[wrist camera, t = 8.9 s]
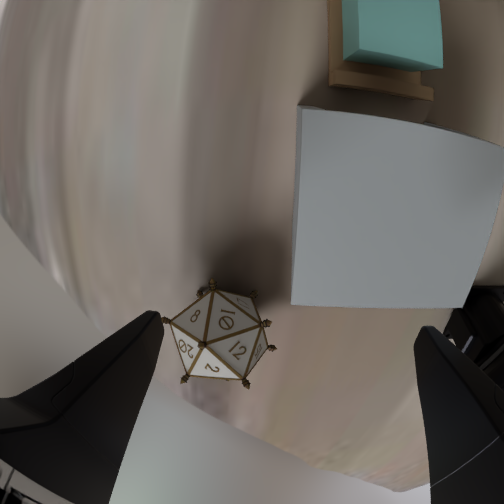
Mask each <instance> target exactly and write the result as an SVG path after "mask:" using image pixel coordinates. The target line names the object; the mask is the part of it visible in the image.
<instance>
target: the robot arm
mask: <svg viewBox="0 0 504 504" xmlns="http://www.w3.org/2000/svg"><path fill="white" fill-rule="evenodd" d="M503 301H504V286H472V287H471V289H470V291H469V294H468V296H467V298H466V301H465V303H464V305H463V307H462V308H455V309H454V311H453V314H452V316H451V318H450V320H449V322H448V324H447V326H446V328H445V330H444V332H443V334H442V333H441V332H440V331H438V330H437V329H436V328H435V327H434V326H423V327H422V328H421V330H420V332H419V334H418V336H417V338H416V340H415V343H414V356H415V365H416V375H417V385H418V391H419V396H420V402H421V408H422V414H423V420H424V427H425V434H426V442H427V451H428V461H429V473H430V487H431V488H430V491H431V504H504V303H503ZM163 336H164V327H163V323H162V319H161V316H160V313H159V312H157V311H150V310H148V311H146V312H144V313H143V314H141V315H140V316H139V317H137V318H136V319H134V320H133V321H131V322H130V323H128V324H127V325H125V326H124V327H122V328H121V329H120V330H118V331H117V332H115V333H114V334H112V335H111V336H109V337H108V338H106V339H105V340H104V341H102V342H101V343H99V344H98V345H97V346H95V347H93V348H92V349H91V350H89V351H88V352H86V353H85V354H83V355H82V356H81V357H79V358H78V359H76V360H75V361H74V362H72V363H70V364H69V365H67V366H66V367H65V368H63V369H62V370H60V371H59V372H57V373H56V374H54V375H52V376H51V377H49V378H47V379H45V380H44V381H42V382H40V383H39V384H37V385H35V386H33V387H32V388H30V389H28V390H26V391H24V392H23V393H21V394H19V395H17V396H14V397H9V398H0V504H109V501H110V497H111V494H112V491H113V488H114V484H115V482H116V478H117V475H118V472H119V469H120V466H121V462H122V460H123V457H124V454H125V451H126V448H127V445H128V442H129V439H130V436H131V433H132V431H133V428H134V425H135V422H136V419H137V417H138V414H139V411H140V408H141V406H142V403H143V400H144V397H145V395H146V392H147V390H148V387H149V384H150V382H151V379H152V376H153V373H154V370H155V367H156V363H157V359H158V355H159V351H160V348H161V344H162V340H163ZM449 339H453V340H454V342H455V344H456V346H455V345H454V344H453V343H452V342H451V341H450V340H449Z"/></svg>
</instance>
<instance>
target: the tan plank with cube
mask: <svg viewBox="0 0 504 504" xmlns="http://www.w3.org/2000/svg"><path fill="white" fill-rule="evenodd" d="M327 7H328V47H329V73H328V86H334V87H343V88H352V89H359V90H366V91H373V92H379V93H385V94H390V95H396V96H401V97H406V98H410V99H418V100H429V101H433V100H434V88H431V87H427V86H423V85H421V71H416V72H408V71H403V70H399V69H394V68H389V67H384V66H379V65H373V64H367V63H361V62H354V61H346V60H343V20H342V0H327Z"/></svg>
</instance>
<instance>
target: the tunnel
mask: <svg viewBox="0 0 504 504" xmlns="http://www.w3.org/2000/svg"><path fill="white" fill-rule="evenodd" d="M503 183H504V147H502V146H499V145H497V144H494V143H491V142H489V141H486V140H483V139H480V138H477V137H475V136H472V135H469V134H466V133H463V132H459V131H456V130H453V129H450V128H446V127H443V126H439V125H436V124H431V123H427V122H424V125H423V124H419V123H414V122H409V121H404V120H398V119H392V118H386V117H380V116H373V115H366V114H359V113H351V112H342V111H332V110H324V109H321V108H318V107H314V106H304V105H297V131H296V163H295V187H294V207H293V225H292V281H291V305H307V306H328V307H358V308H462V307H463V305H464V303H465V301H466V298H467V296H468V294H469V291H470V289H471V287H472V284H473V282H474V279H475V277H476V274H477V272H478V269H479V266H480V264H481V261H482V258H483V255H484V252H485V249H486V246H487V243H488V240H489V237H490V234H491V231H492V227H493V224H494V220H495V217H496V213H497V209H498V205H499V201H500V197H501V193H502V188H503Z"/></svg>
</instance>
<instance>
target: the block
mask: <svg viewBox="0 0 504 504" xmlns="http://www.w3.org/2000/svg"><path fill="white" fill-rule="evenodd" d="M342 20H343V60H346V61H354V62H361V63H367V64H373V65H379V66H384V67H389V68H394V69H399V70H403V71H408V72H416V71H423V70H431V69H441V68H443V44H442V27H441V15H440V6H439V0H342Z"/></svg>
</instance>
